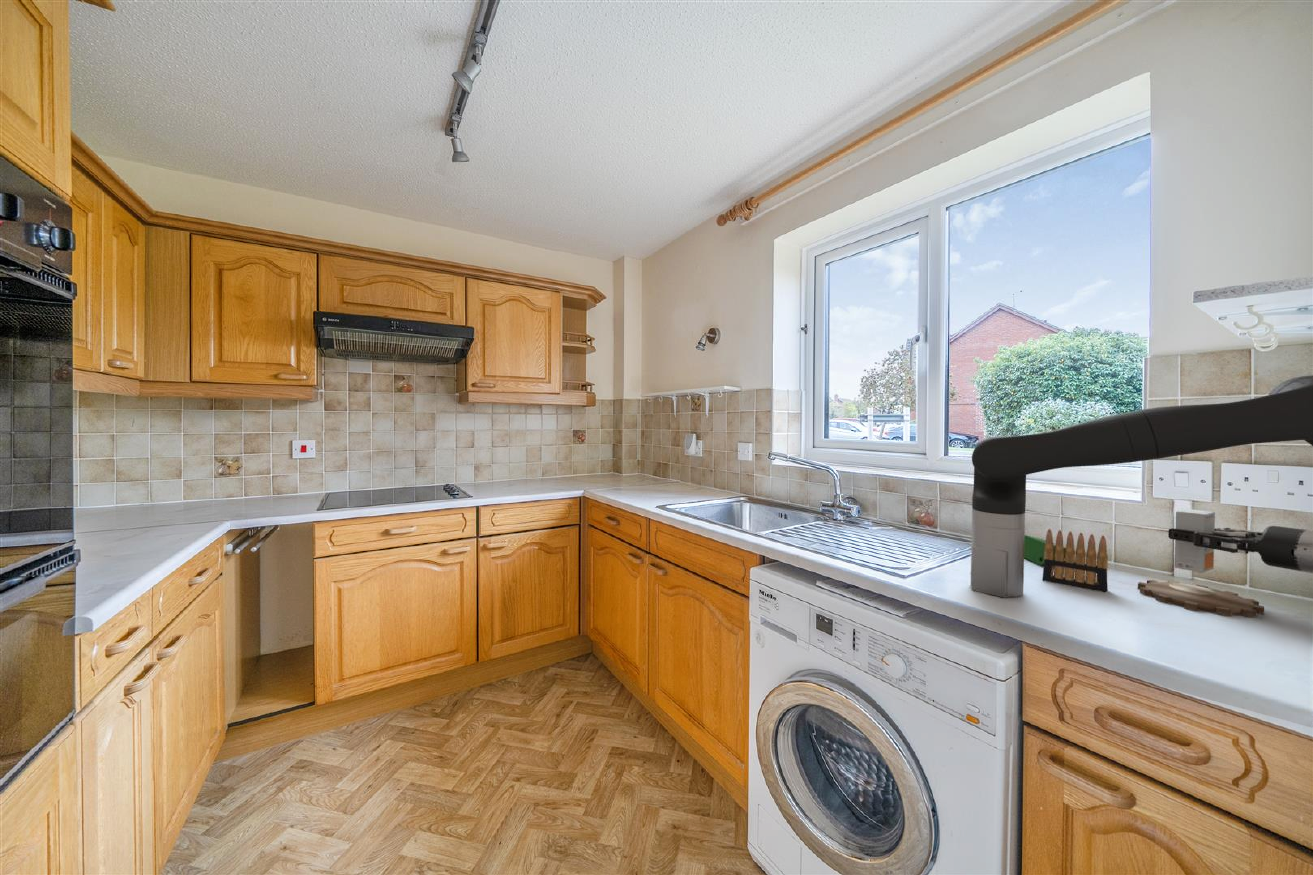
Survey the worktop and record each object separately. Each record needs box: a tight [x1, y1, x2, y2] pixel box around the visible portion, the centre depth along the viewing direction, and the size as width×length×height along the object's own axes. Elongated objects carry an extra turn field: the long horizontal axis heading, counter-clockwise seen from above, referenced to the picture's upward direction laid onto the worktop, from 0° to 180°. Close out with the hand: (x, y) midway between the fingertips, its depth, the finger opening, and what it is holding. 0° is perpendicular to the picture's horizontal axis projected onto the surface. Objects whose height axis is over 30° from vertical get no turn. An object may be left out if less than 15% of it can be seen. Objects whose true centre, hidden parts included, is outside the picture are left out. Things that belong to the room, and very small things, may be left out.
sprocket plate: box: [1137, 579, 1265, 618], centre depth 95 cm, size 17×17×1 cm
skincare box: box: [1173, 508, 1216, 574], centre depth 97 cm, size 6×4×12 cm
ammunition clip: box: [1042, 528, 1109, 594], centre depth 103 cm, size 11×2×12 cm, turn 45°
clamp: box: [1024, 534, 1066, 567], centre depth 121 cm, size 12×6×9 cm, turn 165°
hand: (1178, 531), depth 99 cm, fingers closed on skincare box, 6 cm apart
